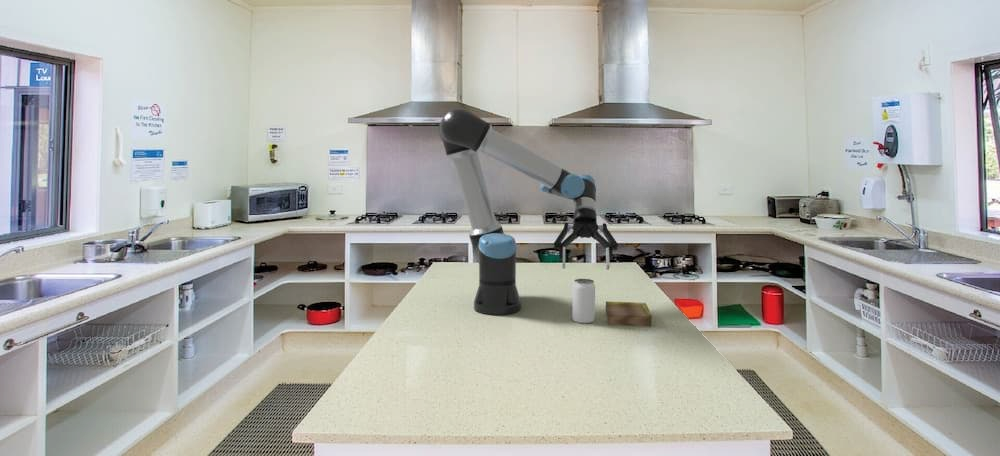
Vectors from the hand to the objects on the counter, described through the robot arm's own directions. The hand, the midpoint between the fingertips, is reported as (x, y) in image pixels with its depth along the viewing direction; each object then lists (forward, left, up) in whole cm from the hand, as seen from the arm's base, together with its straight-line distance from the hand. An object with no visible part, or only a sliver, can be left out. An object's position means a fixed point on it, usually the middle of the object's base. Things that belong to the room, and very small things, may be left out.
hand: (585, 266), depth 155 cm
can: (-1, -10, -14) cm, 17 cm away
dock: (+12, -7, -14) cm, 20 cm away
